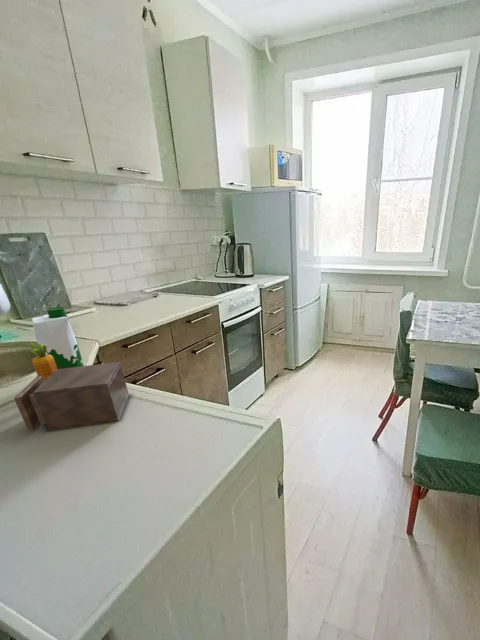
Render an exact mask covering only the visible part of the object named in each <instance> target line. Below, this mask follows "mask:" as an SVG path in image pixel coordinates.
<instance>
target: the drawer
mask: <svg viewBox="0 0 480 640" xmlns="http://www.w3.org/2000/svg"><path fill="white" fill-rule="evenodd" d="M47 378H48V377H47ZM47 378H46V379H47ZM43 382H44V379H43V376H38V375H37V376H35V377H34V378H33V379H32V380H31V381H30V382H29V383H28V384H27V385H26V386H25V387H24V388H23V389H22V390H20V391H19V392H18V393H17V394H16V395H15V396H14V397H13V400H14V401H15V405H16V406H17V409H18V411H19V413H20V415H21V417H22V420H23V422H24V425H25V426H26V428H27V430H32V429H34V428H36V427H37V425H38V424H39V423H40V425H46V423H45V420H44V418H43V416H42V413H41V411H40V408H39V406H38V404H37V401H36V399H35V396H34V394H33V392H34V391H35V390H36V389H37V388H38V387H39V386H40V385H41V384H42V383H43Z"/></svg>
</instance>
